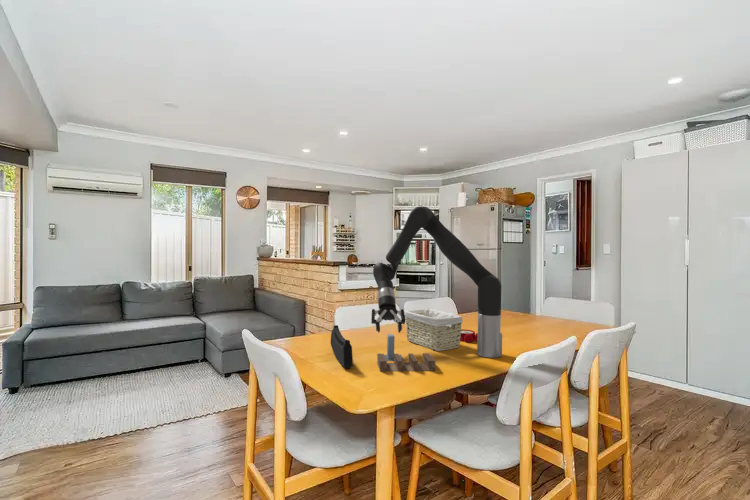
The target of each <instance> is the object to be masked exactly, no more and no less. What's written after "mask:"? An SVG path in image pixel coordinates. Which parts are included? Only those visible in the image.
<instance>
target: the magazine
mask: <svg viewBox="0 0 750 500" xmlns="http://www.w3.org/2000/svg"><path fill="white" fill-rule="evenodd" d="M330 347H331V349H332V352H333V354H334V357H335V359H336V360H337V362H338V363H339V364H340V365H341V366H342V367H343V368H346V369H351V368H354V367H353V365H354V363H353V361H354V360H353V346H352V344H351V341H350V340H349V339H346V338H345V337H343V335H342V333H341V330H340V328H339V325H337V324H336V325H333V329H332V330H331V333H330Z"/></svg>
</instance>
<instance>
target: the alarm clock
mask: <svg viewBox="0 0 750 500" xmlns="http://www.w3.org/2000/svg"><path fill="white" fill-rule="evenodd" d="M460 337H461V338H460V342H465V343H472V342H476V343H477V338H478V332H475V330H471V329H465V328H464V329H462V328H461V335H460Z"/></svg>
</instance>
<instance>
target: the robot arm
mask: <svg viewBox="0 0 750 500" xmlns="http://www.w3.org/2000/svg"><path fill="white" fill-rule="evenodd" d="M421 229H423V230H424V231H426V232H427V233H428V234H429V235H430V236H431V237H432V239H433V240H434V242H435V243H436V245H437V247H438V249H439V250H440V252H441V253H442V254H443V255H444V256H445V258H447V259H448V260H449V262H451V263H452V264H453V265H454V266H455V267H456V268H457V269H459V270H460V271H461V272H463V273H465V274H466V275H467V276H468V277H469V279H471V280H472V282H474V284H475V285H476V286H477V333H478V338H477V342H476V344H477V345H476V352H477V353H476V354H477V355H478V356H479V357H484V358H490V359H491V358H492V359H493V358H499V357H502V356H503V333H502V332H501V330H502V329H501V322H502V321H501V319H502V317H501V316H502V314H501V313H502V282H501V281H500V279H499V278H498V277H497V276H496V275H494V274H492V273H491V271H489V270H488V269H487V268H485V266H483V265H482V264H481V263H480V262H479V260H478V259H477V258H476V256H475V255H474V254H473V252H472V251H470V250H469V248H468V247H467V246H466V245H465V244H464V243H463V242H462V241H461V240H460V239H459V238H458V237H457V236H456V235H455V234H453V232H451V231H450V230H449V229H448V228H447V227H446V226H444V224H443V223H442V222H441V221H440V219H439V218H438V217H437V216H436V215H435V213H434V212H433V210H432V209H430V208H429V207H427V206H416V207H413V209H411V211H410V212H409V214H408V216H407V220H406V221H405V223H404V225H403V228H402V230H401V232H399V233H400V234H399V235H398V237H397V238H396V240H395V242H394V243H393V244H392V246H391V248H390V249H389V250H388V251H387V253H386V255H385V259H386V261H387V262H388V263H389V264H390V265H388V264H386V263H383V262H377V263H376V264H375V265H374V266H373V268H372V269H373V270H372V274H373V277H374V279H375V282H376V286H377V303H378V305H377V306H378V309H377V310H375V308H372V309H371V318H370V319H371V322H370V324H372V325H375V330H376V332H377V333H381V327H380V326H381V325H380V324H381V323H382V321H393V322H394V323H395V324H396V325H397V332H398V333H401V332H402V329H403V327H402V325H404V324H405V323H406V317H405V310H404V309H403V308H401V310H398V309H397V305H396V296H395V292H394V291H395V290H394V283H393V281H392V280H393V279H394V278H395V276H396V274H397V271H398V267H399V265H400V263H401V261H402V260H403V258H404V257H405V255H406V254H407V252H408V250H409V248H410V245H411V244H412V241H413V239H414V237H415V236H416V235H417V234H418V232H419V231H420V230H421ZM377 314H378V318H377V319H375V318H376V316H377ZM405 325H406V324H405Z"/></svg>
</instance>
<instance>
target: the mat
mask: <svg viewBox="0 0 750 500" xmlns="http://www.w3.org/2000/svg"><path fill="white" fill-rule="evenodd" d="M384 355H385V358H386V360H387V362H394V359H388V358H387V354H384ZM399 356H400V358H401V359H402V362H405V359H404V357H403V356H402V354H399Z"/></svg>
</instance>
